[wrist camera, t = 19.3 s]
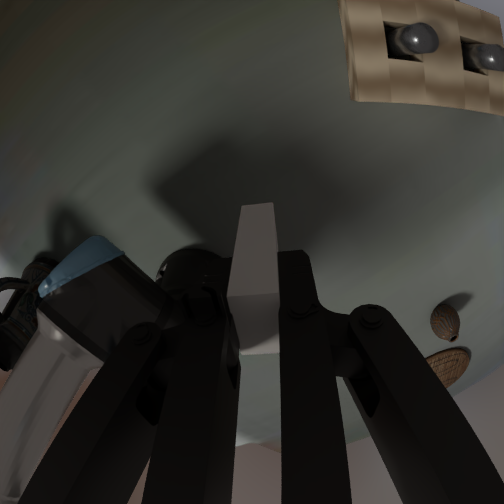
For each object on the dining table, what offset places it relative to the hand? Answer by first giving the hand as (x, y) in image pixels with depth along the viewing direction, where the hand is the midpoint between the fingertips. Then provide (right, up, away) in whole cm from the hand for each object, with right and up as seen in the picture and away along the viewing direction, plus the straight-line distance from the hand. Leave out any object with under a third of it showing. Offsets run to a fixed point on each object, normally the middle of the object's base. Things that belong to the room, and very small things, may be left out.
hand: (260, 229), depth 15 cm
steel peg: (+32, +30, +15) cm, 46 cm away
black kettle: (-46, -8, +42) cm, 63 cm away
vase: (+42, -14, +42) cm, 61 cm away
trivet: (+54, -38, +57) cm, 87 cm away
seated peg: (+20, +29, +16) cm, 38 cm away
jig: (+26, +29, +15) cm, 42 cm away
